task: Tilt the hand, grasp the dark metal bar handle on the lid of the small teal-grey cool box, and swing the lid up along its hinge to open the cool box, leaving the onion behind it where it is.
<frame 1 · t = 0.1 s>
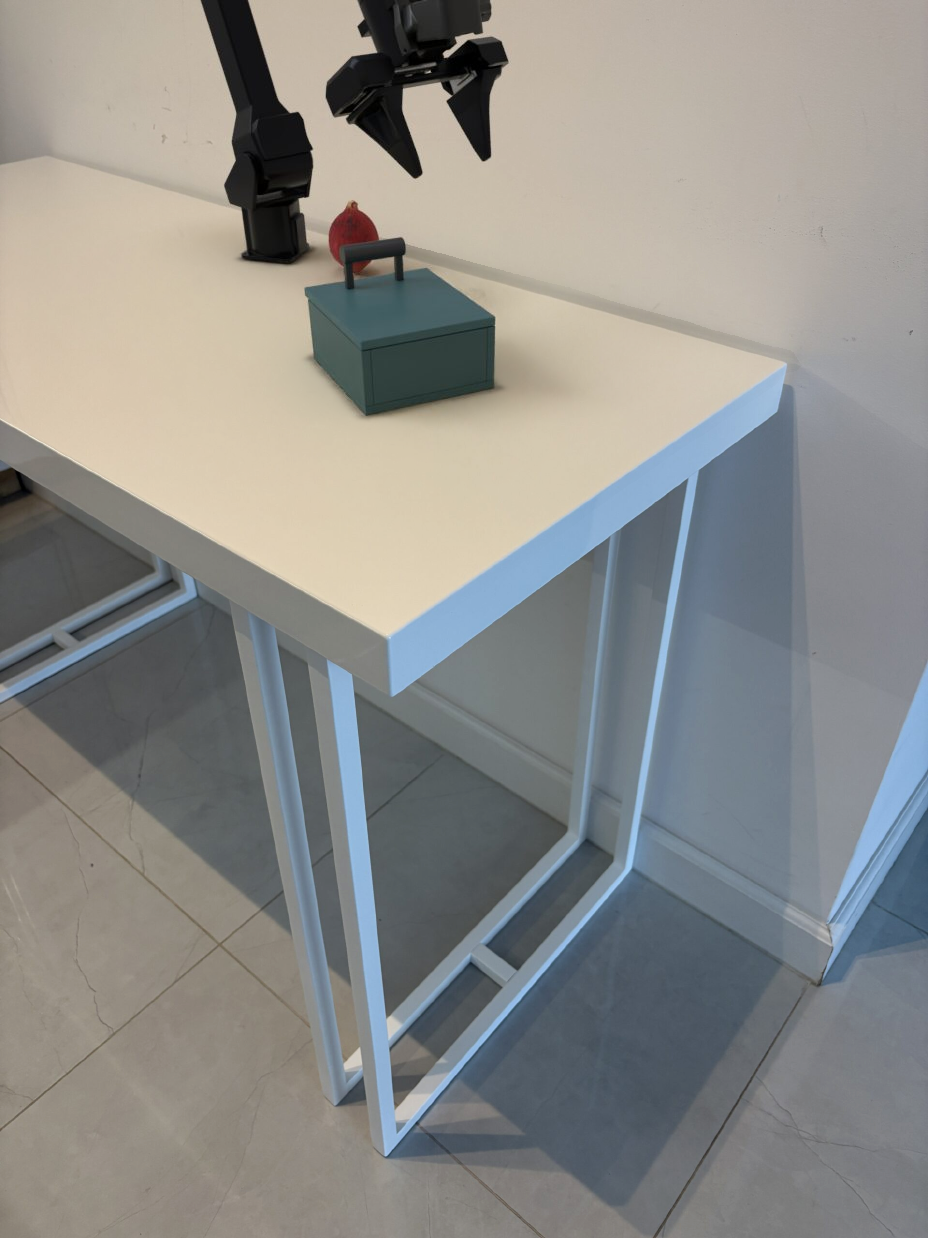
hand: (453, 167, 89), 15 cm above the table, tool tilted 30°, fingers open, 9 cm apart
onion: (356, 274, 110), on the table
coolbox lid: (395, 284, 83), point 8 cm above the table, hinge at 0.0°
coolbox: (401, 372, 88), on the table
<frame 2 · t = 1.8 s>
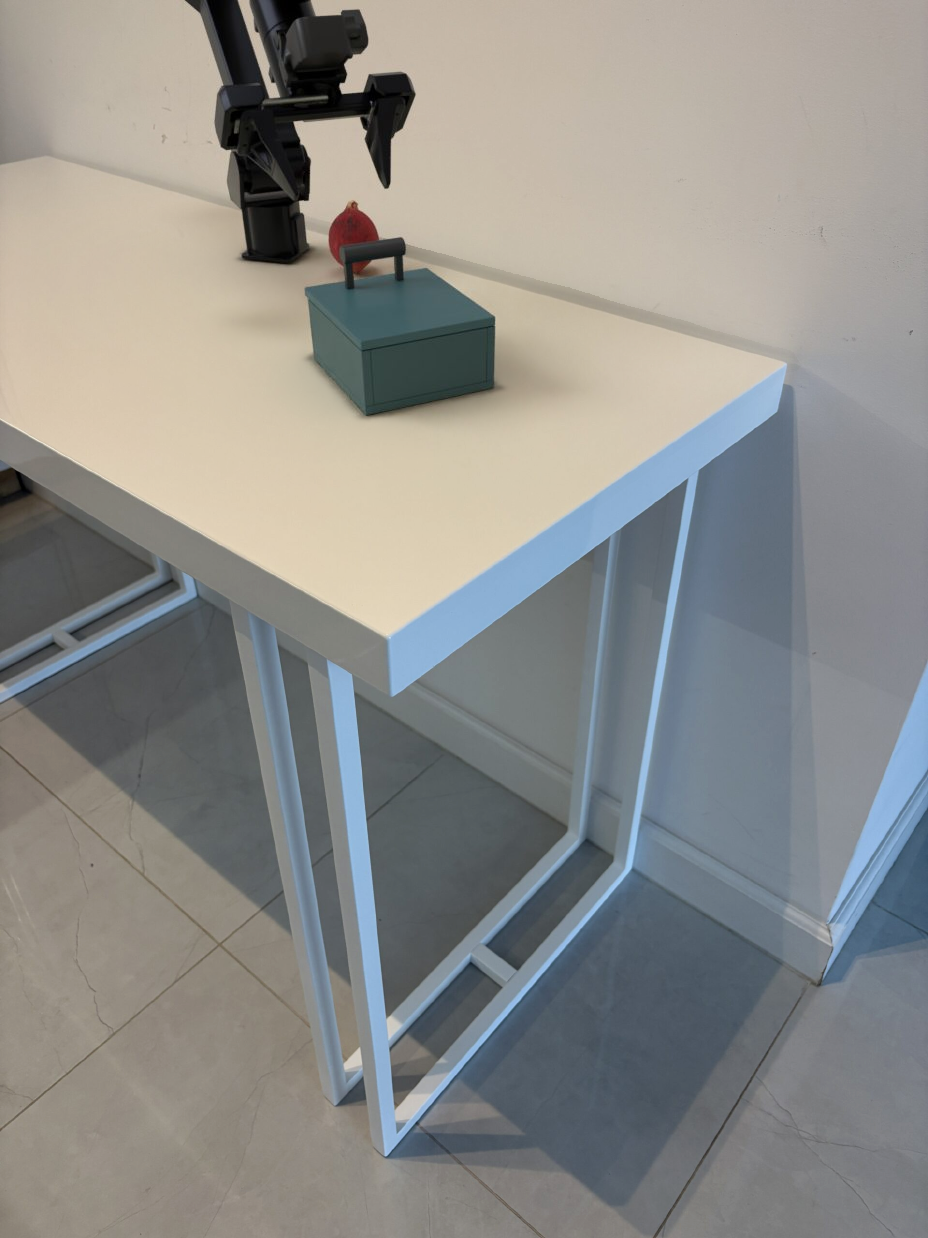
hand: (343, 191, 88), 13 cm above the table, tool tilted 45°, fingers open, 9 cm apart
nothing on the table moved.
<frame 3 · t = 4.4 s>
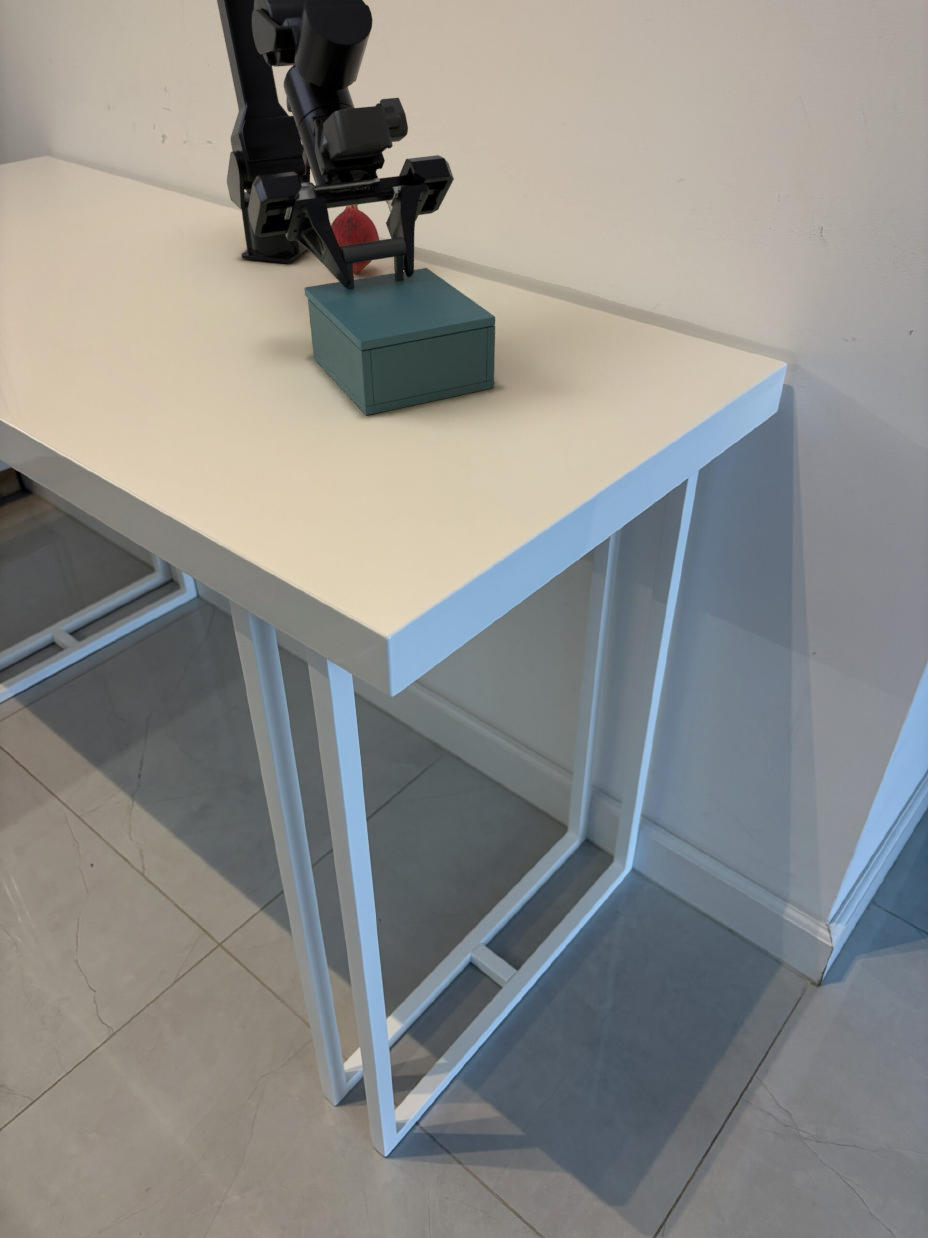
hand: (379, 279, 86), 7 cm above the table, tool tilted 45°, fingers closed on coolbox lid, 6 cm apart
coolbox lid: (395, 284, 83), point 8 cm above the table, hinge at 0.0°, touching gripper
everything else where it was.
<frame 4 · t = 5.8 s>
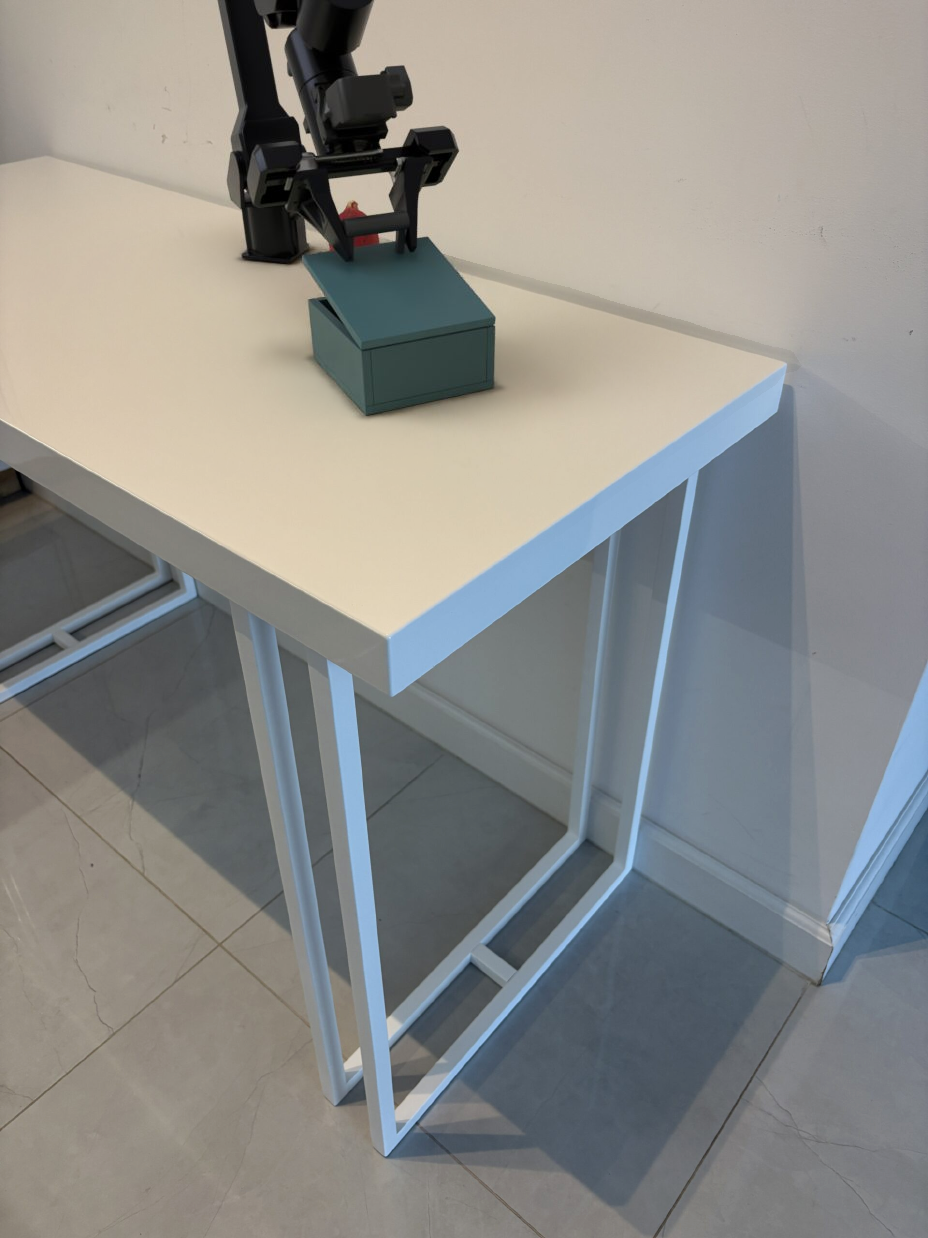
hand: (381, 254, 84), 10 cm above the table, tool tilted 45°, fingers closed on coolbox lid, 6 cm apart
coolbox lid: (397, 269, 82), point 10 cm above the table, hinge at 12.4°, touching gripper
everything else where it was.
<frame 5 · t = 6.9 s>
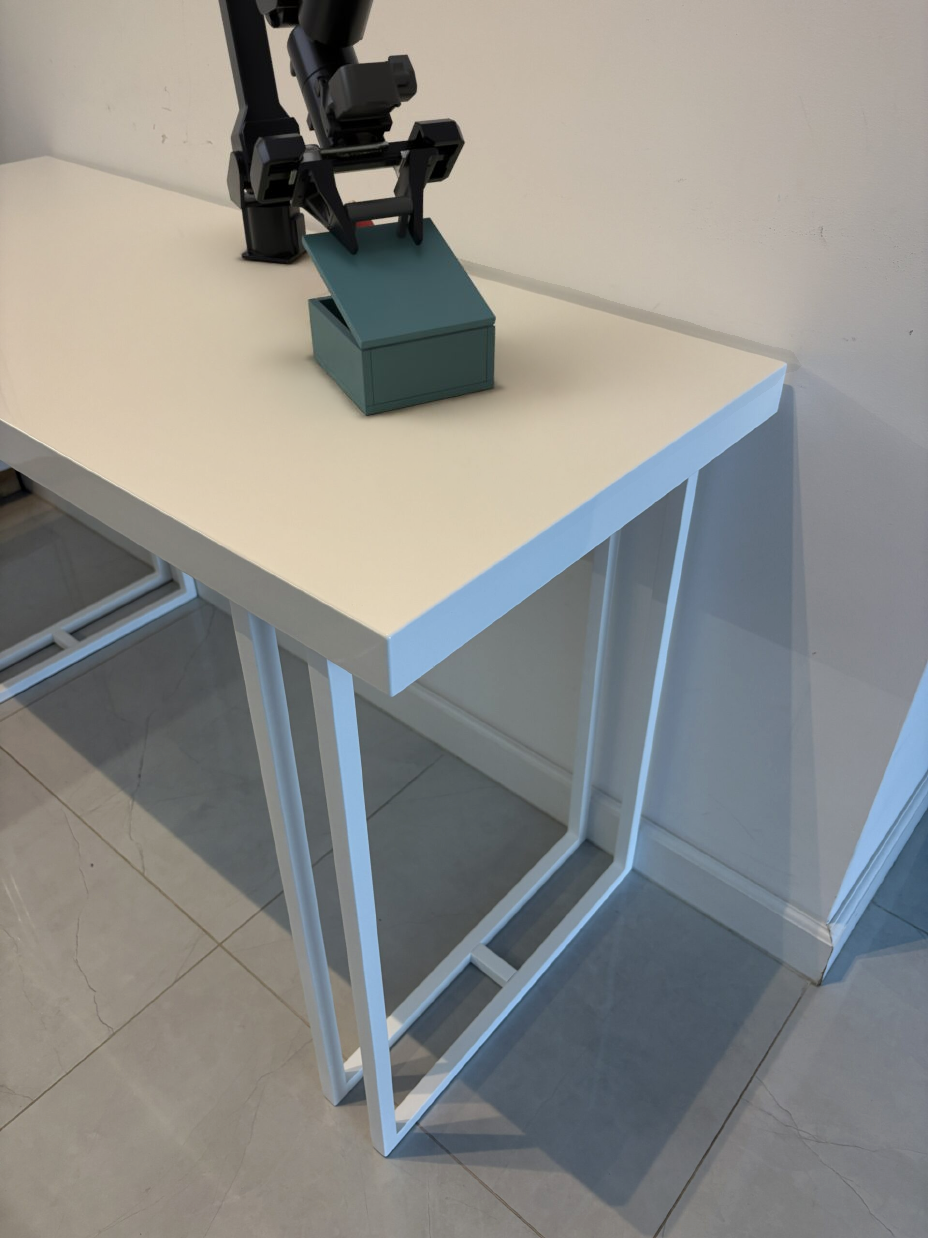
hand: (387, 247, 82), 11 cm above the table, tool tilted 45°, fingers closed on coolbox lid, 6 cm apart
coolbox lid: (399, 260, 81), point 11 cm above the table, hinge at 20.3°, touching gripper
everything else where it was.
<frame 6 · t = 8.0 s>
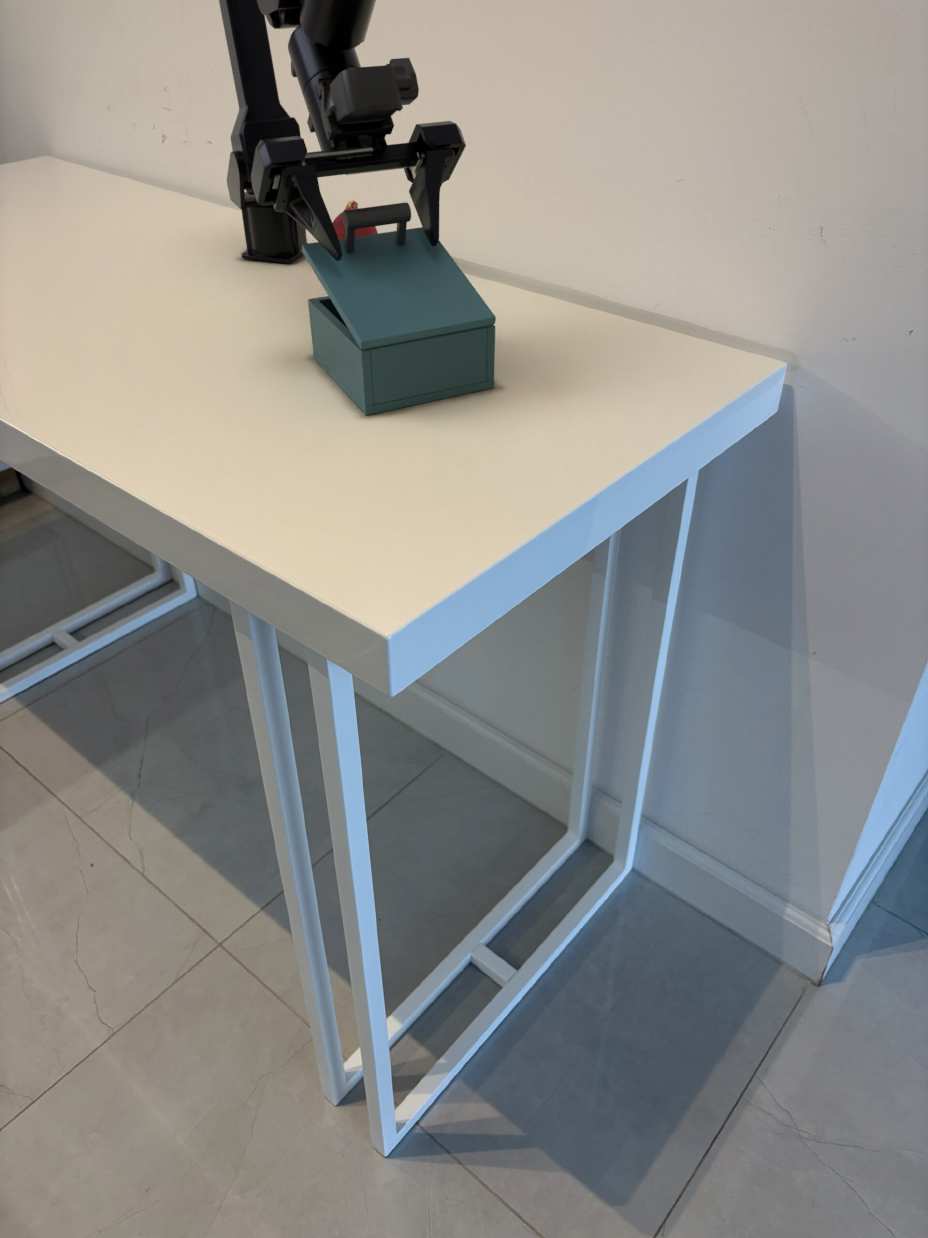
hand: (388, 250, 82), 11 cm above the table, tool tilted 45°, fingers open, 9 cm apart
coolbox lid: (398, 264, 81), point 10 cm above the table, hinge at 16.5°
everything else where it was.
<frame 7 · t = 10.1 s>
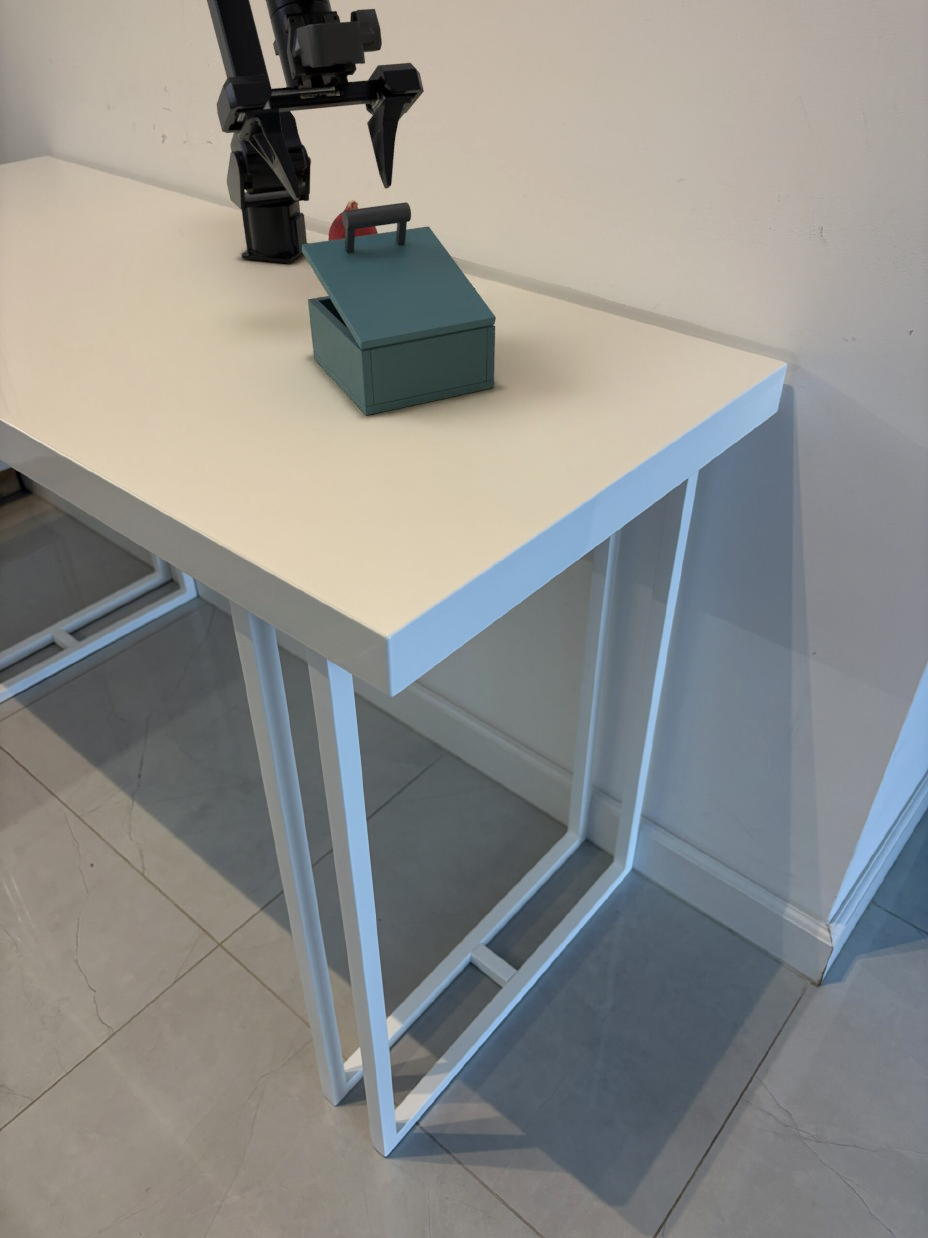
hand: (343, 192, 89), 13 cm above the table, tool tilted 30°, fingers open, 9 cm apart
nothing on the table moved.
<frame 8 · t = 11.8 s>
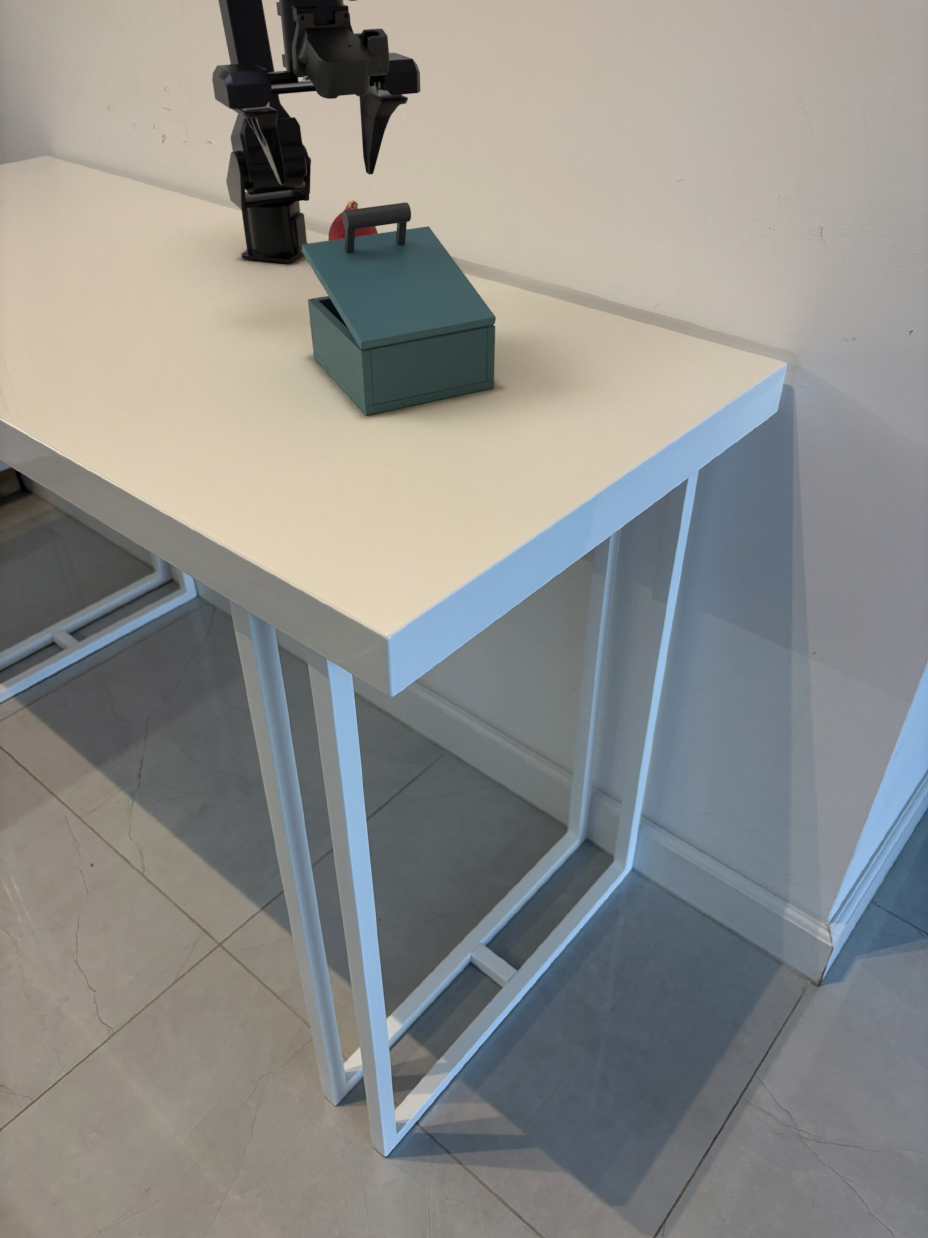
hand: (326, 178, 93), 13 cm above the table, tool pointing down, fingers open, 9 cm apart
nothing on the table moved.
at the end: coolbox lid at +16° (first picture: +0°); onion moved 0.2 cm from its start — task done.
